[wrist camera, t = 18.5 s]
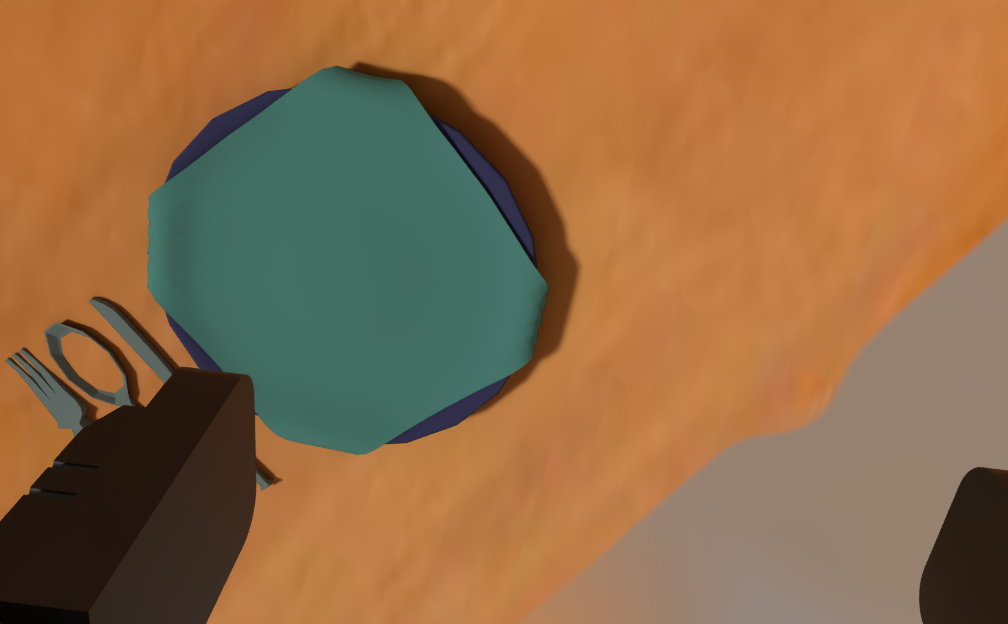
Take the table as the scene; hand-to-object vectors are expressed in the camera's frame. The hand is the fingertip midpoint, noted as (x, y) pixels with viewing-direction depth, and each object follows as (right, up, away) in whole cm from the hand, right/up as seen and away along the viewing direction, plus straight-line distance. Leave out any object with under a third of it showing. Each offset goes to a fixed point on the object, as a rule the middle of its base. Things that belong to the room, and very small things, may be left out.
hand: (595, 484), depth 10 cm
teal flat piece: (-13, +2, +38) cm, 40 cm away
